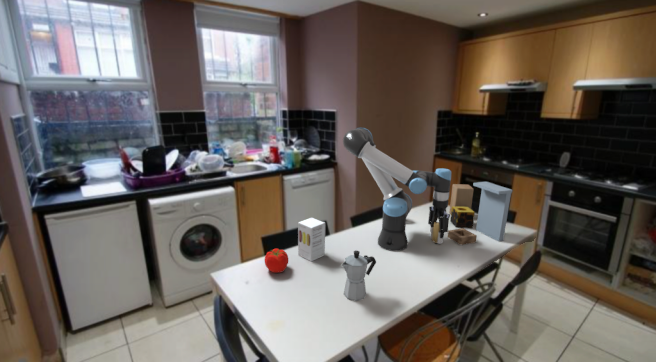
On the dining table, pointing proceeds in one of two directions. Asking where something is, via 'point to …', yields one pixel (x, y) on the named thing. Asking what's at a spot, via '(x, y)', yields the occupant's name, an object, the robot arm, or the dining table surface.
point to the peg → (435, 232)
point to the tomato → (276, 260)
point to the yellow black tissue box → (462, 217)
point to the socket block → (462, 236)
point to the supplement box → (311, 239)
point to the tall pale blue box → (493, 210)
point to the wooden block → (461, 196)
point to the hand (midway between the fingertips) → (436, 240)
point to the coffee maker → (356, 275)
